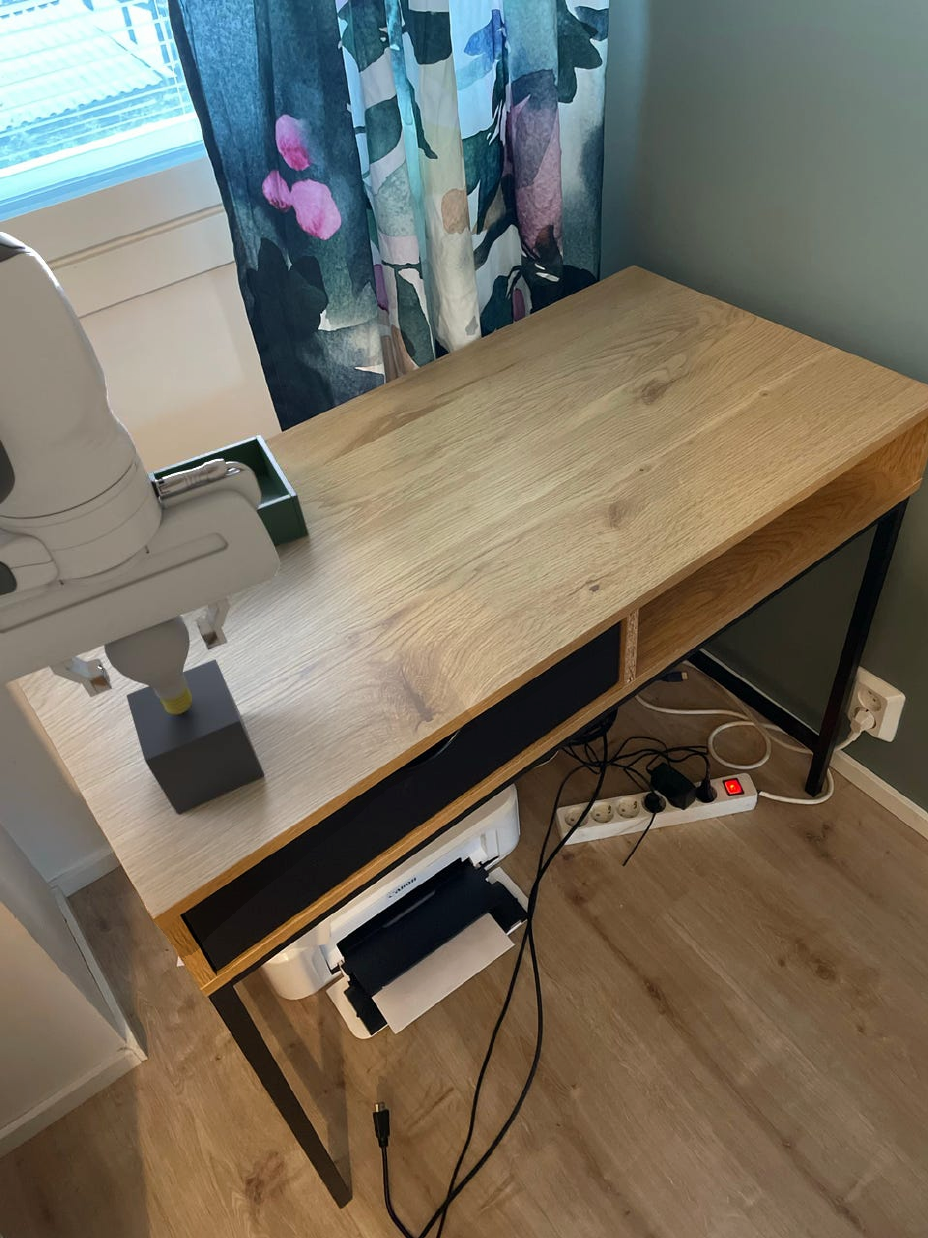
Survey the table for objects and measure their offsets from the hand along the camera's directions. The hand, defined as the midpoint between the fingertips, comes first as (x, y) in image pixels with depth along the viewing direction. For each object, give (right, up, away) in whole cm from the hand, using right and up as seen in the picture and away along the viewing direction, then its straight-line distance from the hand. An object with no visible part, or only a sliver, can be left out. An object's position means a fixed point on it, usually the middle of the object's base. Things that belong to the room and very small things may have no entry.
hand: (159, 663), depth 62 cm
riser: (+1, -8, +8) cm, 12 cm away
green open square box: (-2, +13, +30) cm, 32 cm away
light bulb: (+1, -4, +4) cm, 5 cm away
